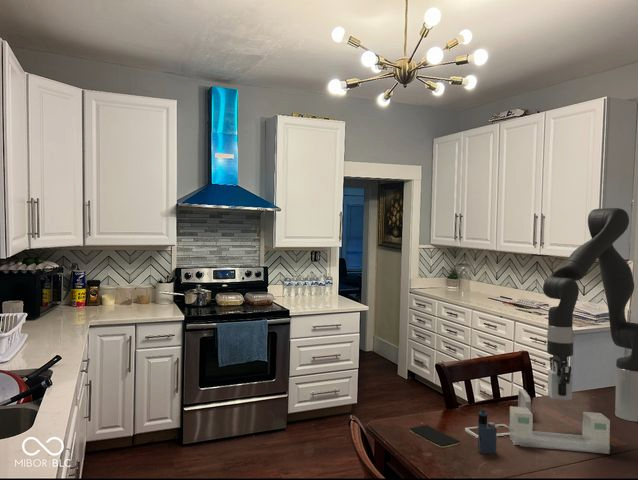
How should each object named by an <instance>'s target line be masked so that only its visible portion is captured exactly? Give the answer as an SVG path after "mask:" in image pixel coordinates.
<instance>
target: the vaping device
mask: <svg viewBox="0 0 638 480" xmlns="http://www.w3.org/2000/svg"><path fill="white" fill-rule="evenodd" d="M477 424H478V425H477V427H478V428H477V435H478V439H477V451H479V452H478V453H480V454H484V455H485V454H486V455H487V454H490V455H491V454H492V455H495V454H496V451H497V437H496V436H497V434H498V433H497V427H495V425H496V423H495V422H492V421H488V412H486V410H485V409H484V408H481V409H480V411H478V422H477Z"/></svg>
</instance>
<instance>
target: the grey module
mask: <svg viewBox="0 0 638 480" xmlns="http://www.w3.org/2000/svg"><path fill="white" fill-rule="evenodd" d="M559 373H560V374H561V372H559ZM563 379H564V380H565V377H564V378H563ZM572 391H573V374H572V373H571V375H570V383H569V384H566V396H560V395H559V394H558V376H557V375H556V371H552V370H551V369H549V370H547V396H548V397H549V398H551V399H552V400H554V399H555V400H566V401H567V400H571V401H572V400H573V392H572Z"/></svg>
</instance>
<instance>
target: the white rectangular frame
mask: <svg viewBox="0 0 638 480" xmlns="http://www.w3.org/2000/svg"><path fill="white" fill-rule="evenodd" d="M498 426H505V427H506V428H508V429H509V427H510V426H508V425H507V424H505V423H500V424H499V423H498V424H495V427H496V428H499V427H498ZM505 427H504V428H505ZM470 429H472V430H474V429H478V426H471V427H465V428H464V431H465V432H466V433H468V434H469V435H470V436H472V435H473V437H474V436H475V437H474V438H476V439H477V438H478V433H477V434H476V433H475V432H473V431H472V430H470ZM504 435H509V432H503V433H502V432H501V433H497V436H504ZM504 437H505V436H504Z"/></svg>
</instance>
